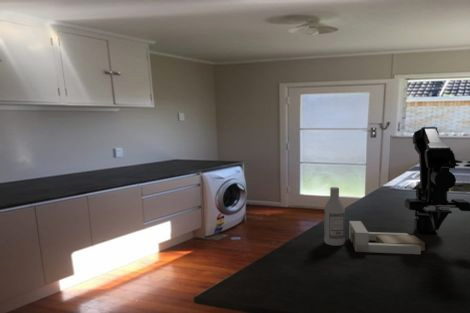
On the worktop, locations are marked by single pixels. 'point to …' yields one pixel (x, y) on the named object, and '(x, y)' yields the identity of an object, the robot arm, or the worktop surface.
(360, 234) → the canopy channel
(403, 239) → the tan wooden block
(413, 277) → the worktop surface
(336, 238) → the bath foam
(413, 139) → the robot arm
